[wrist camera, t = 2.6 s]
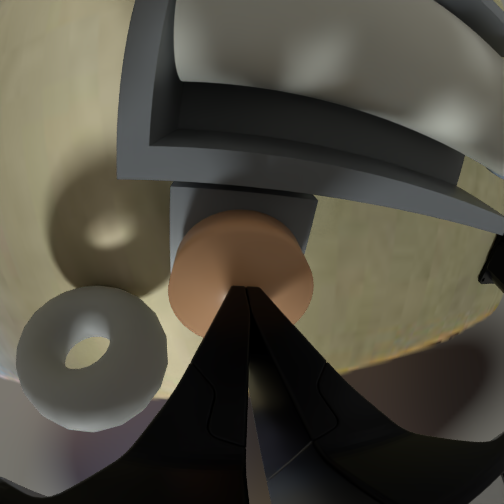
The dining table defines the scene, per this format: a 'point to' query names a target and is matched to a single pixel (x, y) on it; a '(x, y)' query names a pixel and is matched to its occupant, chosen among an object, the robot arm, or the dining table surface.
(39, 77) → the dining table surface
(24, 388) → the donut
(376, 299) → the dining table surface
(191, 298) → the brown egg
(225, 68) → the cartridge
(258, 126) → the housing
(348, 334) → the dining table surface
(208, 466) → the robot arm
